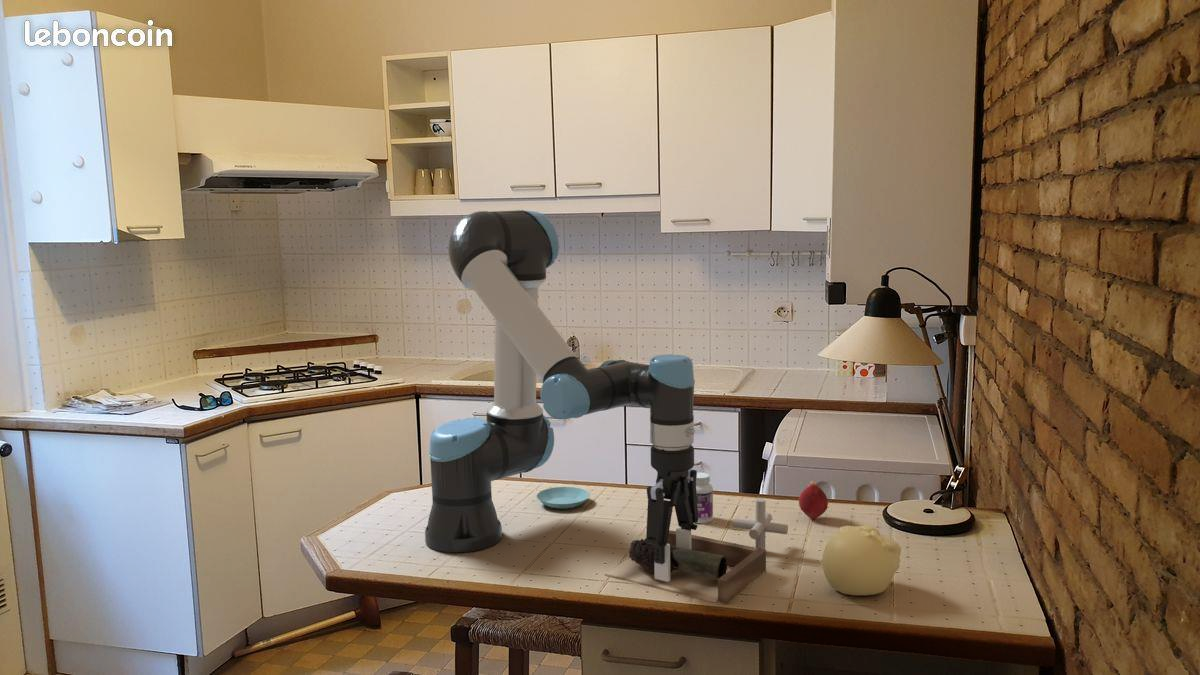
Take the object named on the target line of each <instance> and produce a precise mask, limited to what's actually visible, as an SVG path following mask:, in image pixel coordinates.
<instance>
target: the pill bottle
mask: <svg viewBox="0 0 1200 675" xmlns="http://www.w3.org/2000/svg"><path fill="white" fill-rule="evenodd" d="M710 481H711V476H710V474H708V473H706V472H697V477H696V492H697V507H698V522H697V523H696V524H706V523H707V524H708V523H710V522H711V521H713V517H714V516H713V514H714V511H713V510H714V488H713V486H712V484H710Z"/></svg>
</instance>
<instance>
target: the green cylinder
mask: <svg viewBox="0 0 1200 675" xmlns="http://www.w3.org/2000/svg"><path fill="white" fill-rule="evenodd" d="M628 554H629V558H631V560H632V561H635V563H637V564H639V565H640V566H641V567H642V568H644V571H645V572H646V573H648V574H654V575H655V570H654V545H653V544H648V543H646V537H645V538H644V539H643V538H641V539H638V540H632V541H631V542H630V548H629V552H628ZM726 562H727V558H726V557H725V556H721V555H716V554H710V553H705V552H700V551H695V550H690V549H684V548H672V547H670V572H672V571H674V570H678V571H682V572H686V573H690V574H694V575H699V576H703V577H707V578H711V579H716V580H718V579H719V578H720V577H722V576H723V575H724V574H726V573H727V572H728V570H727V569H728V567H727V563H726Z"/></svg>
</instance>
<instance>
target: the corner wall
mask: <svg viewBox="0 0 1200 675" xmlns="http://www.w3.org/2000/svg"><path fill="white" fill-rule="evenodd" d="M667 544H670V547H672V548H676V530H671V529H669V534H668V540H667ZM691 550H695V551H700V552H705V553H710V554H716V555H721V556H725V557H726V558H727V562H726V563H727V566H729V567H728V568H731V569H729V570H727V571H726V574H724V575H723V576H722V577H720V578H719V579H718V601H717V603H719V604H723V605H728V604H729V603H730V602H732V600H734V599H735V598H736V597H738V595H740V594H741V593H742V592H744V591H745V590H746V589H747V588H748V587H749V586H750V585H752V584H753V583H754V582H755V581H757V580H758V579H759V578H760V577H761V576H763V573H764V574H765V573H766V572H767V550H766V549H765V550H764V549H759V548H756V546H755V547H754V546H749V545H744V544H739V543H735V542H729V541H724V540H720V539H714V538H711V537H710V538H708V537H704V536H699V535H694V534H691ZM732 567H733V568H732Z"/></svg>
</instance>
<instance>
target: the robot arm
mask: <svg viewBox="0 0 1200 675" xmlns="http://www.w3.org/2000/svg"><path fill="white" fill-rule="evenodd" d="M448 240H449V241H448V257H449V263H450V264H451V267H452V270H453V272H454V274H455V276H456V277H457V278H458V280H459V282H460V283H461V284H462V285H463V287H464V288H466V289H467V290H470V291H474V292H475V294H476V295H477V296H478V298H479V299H480V300H481V302H482V303H483V304H484V306H485V307H486V309H487V310H488V311H489V312H490V314H491V315H492V316H493V318H494V382H493V383H494V384H493V386H494V391H493V394H494V396H493V397H494V398H493V402H492V403H491V404H490V405H489V406H488V407H487V408H486V419H482V418H480V417H478V418H477V417H467V418H464V419H460V418H459V419H455V420H451V421H448V422H444V423H442V424H441V425H439V426H437V427H435V429H434V430H433V431H432V433H431V435H430V437H429V451H428V455H429V457H430V460H429V461H430V476H431V479H430V480H431V496H432V497H431V498H432V499H431V500H432V505H431V508H430V513H429V516H428V521H427V522H428V523H427V525H426V527H425V530H424V537H425V538H424V540H425V546H427V547H429V548H430V549H432V550H434V551H435V550H436V551H438V552H444V553H445V552H446V553H467V552H474V551H480V550H484V549H487V548H489V547H492V546H495V545H496V544H497V543H499V542H500V541H501V540H502V538H503V528H502V527H503V526H502V522H501V521H500V520H499V519H498V514H497V511H496V507H495V504H494V502H493V497H492V496H493V495H492V494H493V492H492V482H493V481H497V480H501V479H504V478H508V477H512V476H516V475H519V474H524V473H525V474H526V473H529V472H532V471H533V470H534V469H538V468H540V467H542V466H544V464H545V463H547V461H548V460H549V459H550V458H551V455H552V453H553V450H554V446H555V433H554V428H553V427H551V424H552V423H551V422H550V420H549V419H548V417H547V416H545V415H544V411H545V412H546V414H547V415H548V416H549V417H551V418H553V419H555V420H569V419H578V418H582V417H583V416H585V415H587V416H588V415H590V414H594V413H598V412H601V411H607V410H612V409H615V408H621V407H625V406H637V407H642V408H648V409H649V418H650V419H649V421H650V423H649V427H650V430H649V432H650V435H649V443H650V444H652V445H651V447H650V466H651V468H652V469H653V470H656V473H657V475H656V480H655V485H653V486H651V485H650V486H647V488H646V495H647V513H646V514H647V516H646V535H645V538H646V543H648V544H653V545H654V570H655V579H658V580H662V581H666V582H669V581H670V544H667V540H668V534H669V530H670V529H671V523H672V522H671V521H672V515H673V509H674V511H675V514H676V519H677V524H678V527H677V528H676V529H675V531H676V548H684V549H690V550H691V535H692V530H693V531H697V529H698V523H697V522H698V507H697V492H696V477H697V473H698V471H697V470H696V469H693V468H694V466H695V448H694V446H693V444H694V440H695V435H694V434H696V429H695V428H694V427H695V425H694V424H695V421H694V420H695V419H694V418H695V415H694V401H695V400H694V399H695V398H694V397H695V376H694V364H693V361H692V358H690V357H689V356H686V355H682V354H657V355H654V356H652V357H651V358H650V360H649V364H647V363H645V364H644V363H639V362H631V361H629V360H625V359H618V360H616V359H609V360H605V361H603V362H602V364H600V365H599V366H598V367H593V368H587V367H585V365H584V364H583V362H582V361H581V360H580V359H579V357H577V354H575V352H574V350H572V348H571V347H570V346H569V345H568V343H567V342H566V340H565V339H564V338H563V336H562V335H561V334H560V332H559V331H558V330H557V329H556V328H555V326H554V325H553V324H552V322H551V321H550V320H549V318H548V317H547V315H546V314H545V313H544V312H543V311H542V309H541V308H540V307H539V288H540V286H541V285H543V283H544V282H545V281H546V280H547V268H548V269H549V267H551V266H552V265H553V264H554V263H555V260H557V259H558V255H559V251H560V243H559V242H560V240H559V235H558V233H557V230H556V228H555V225H554V224H553V223H551V220H550V219H549V218H548V217H547V216H546V215H545V214H543V213H541V212H539V211H532V210H524V209H522V210H519V209H518V210H516V209H515V210H499V211H498V210H497V211H495V210H494V211H487V210H482V211H481V210H479V211H474V212H473V213H469V214H468V215H466V216H464V217H463V218H461V220H459V221H458V222H457V223H456V224H455V225H454V228H453V229H452V231H451V234H450V237H449V239H448ZM537 377H538V378H539V380H540V381H541V383H542V385H541V388H540V392H539V393H540V395H539V396H540V401H542V407H543V408H542V407H541V406H540V405H539V404H538V403H537Z"/></svg>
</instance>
